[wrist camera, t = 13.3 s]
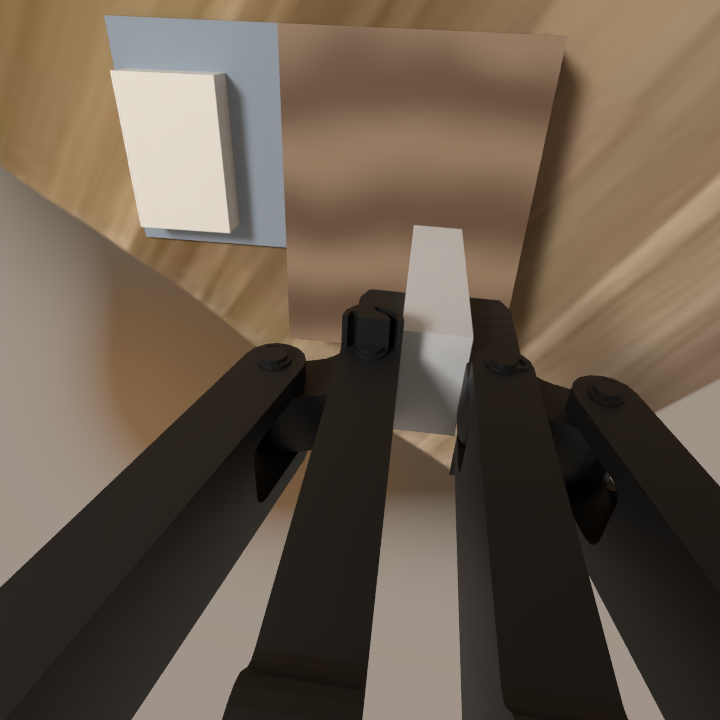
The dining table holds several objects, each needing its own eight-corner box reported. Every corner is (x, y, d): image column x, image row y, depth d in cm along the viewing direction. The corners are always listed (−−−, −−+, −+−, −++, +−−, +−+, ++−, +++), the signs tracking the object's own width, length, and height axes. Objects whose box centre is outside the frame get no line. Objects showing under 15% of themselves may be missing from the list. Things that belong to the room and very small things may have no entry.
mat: (106, 15, 30) (104, 15, 30) (295, 23, 29) (293, 23, 29) (148, 235, 37) (146, 236, 37) (300, 247, 36) (299, 248, 36)
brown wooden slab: (295, 23, 29) (277, 23, 26) (551, 35, 28) (567, 35, 25) (302, 311, 39) (290, 338, 35) (492, 328, 38) (498, 357, 34)
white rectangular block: (213, 75, 29) (225, 72, 31) (110, 70, 29) (127, 68, 31) (230, 233, 34) (239, 223, 35) (141, 226, 34) (154, 217, 36)
